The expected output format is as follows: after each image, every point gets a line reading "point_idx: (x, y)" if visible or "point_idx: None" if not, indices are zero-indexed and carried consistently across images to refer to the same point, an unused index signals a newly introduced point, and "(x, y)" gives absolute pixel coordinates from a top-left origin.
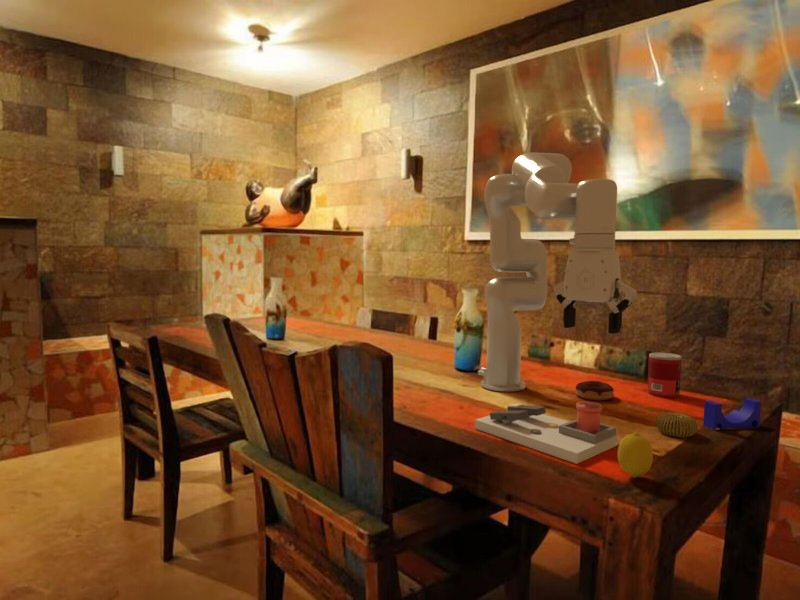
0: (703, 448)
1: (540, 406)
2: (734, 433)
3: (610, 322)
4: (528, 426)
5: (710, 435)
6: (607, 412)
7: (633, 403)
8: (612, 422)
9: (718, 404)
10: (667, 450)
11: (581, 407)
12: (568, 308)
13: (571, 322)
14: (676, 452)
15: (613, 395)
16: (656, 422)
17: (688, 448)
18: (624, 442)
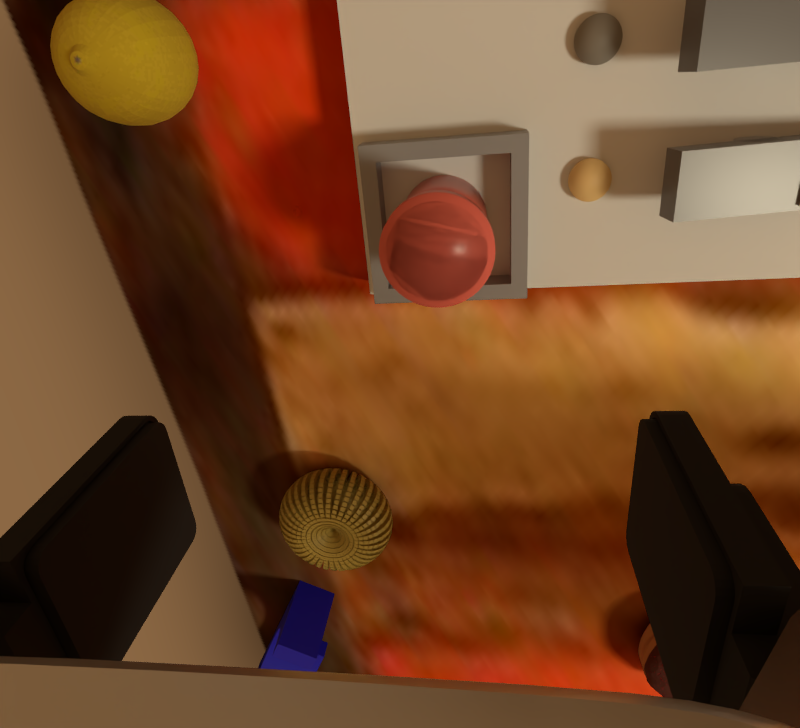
0: (232, 445)
1: (696, 215)
2: (262, 592)
3: (77, 478)
4: (670, 81)
5: (282, 544)
6: (580, 530)
7: (568, 648)
8: (513, 458)
9: (274, 650)
10: (269, 360)
11: (438, 193)
12: (732, 624)
13: (643, 514)
14: (247, 364)
15: (640, 660)
16: (376, 495)
17: (250, 417)
18: (108, 5)
